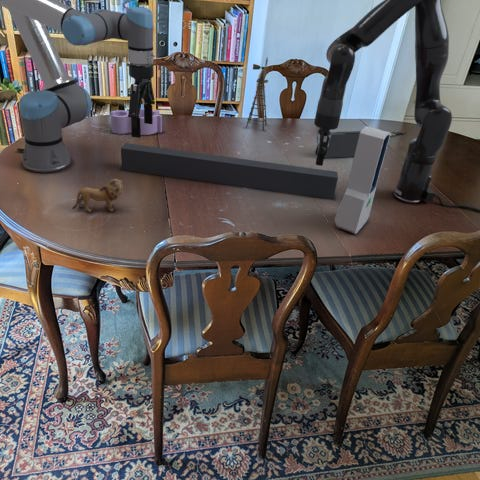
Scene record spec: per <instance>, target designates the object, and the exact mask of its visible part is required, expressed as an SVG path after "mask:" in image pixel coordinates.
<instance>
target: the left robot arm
mask: <svg viewBox="0 0 480 480" xmlns="http://www.w3.org/2000/svg"><path fill="white" fill-rule="evenodd" d="M0 7H3V8H4V9H7V10H8V12H9V15H10V16H11V19H12V21H13V23H14V25H15V27H16V29H17V32H18V33H19V35H20V37H21V39H22V41H23V43H24V46H25V48H26V50H27V52H28V54H29V56H30V58H31V60H32V62H33V64H34V66H35V68H36V71H37V73H38V75H39V77H40V79H41V81H42V83H43V86H42V88H41V89H40V90H37V91H36V90H33V91H30V92H27V93H25V94H23V95H22V96H21V97H20V99H19V102H18V105H19V110H18V111H19V115H20V120H21V126H22V132H23V136H24V148H21V147H18V148H16V151H18V152H21V153H22V158H21V159H22V160H21V161H22V166H23V168H24V169H25V170H27V171H29V172H33V173H39V174H46V173H56V172H61V171H63V170H66V169H67V168H69V167H70V166H71V163H72V159H71V155H70V153H69V151H68V150H67V149H68V148H67V147H66V145H65V143H64V140H63V132H62V129H65V128H67V127H70V126H73V125H74V124H76V123H80V122H82V121H83V120H85V119H86V118H87V117H89V115H90V114H91V111H92V107H93V102H92V97H91V95H90V93H89V92H88V90H87V89H86V88H84V87H83V86H81V85H78V83H77V81H76V79H75V78H74V77H73V76H70V75H69V74H68V72H67V69H66V67H65V65H64V63H63V61H62V58H61V56H60V54H59V52H58V50H57V47H56V44H55V42H54V41H53V38H52V37H51V34H50V32H49V30H48V28H51V30H55V31H57V32H59V33H61V34H62V35H63V37H64V39H65V40H66V41H67V42H68V43H69V44H70V45H72V46H77V47H79V46H88V45H90V44H95V43H99V42H103V41H108V40H112V39H113V40H119V41H124V42H125V41H126V42H127V56H128V57H127V58H128V59H127V60H128V63H129V64H128V75H129V77H130V78H133V79H134V82H133V83H131V84H130V97H129V105H128V110H129V114H128V117H131V130H132V133H131V137H132V138H137V139H141V138H142V135H141V130H140V117H139V114H140V109H141V108H142V103H143V101H144V104H143V108H144V123H146V124H153V112H152V110H153V105H155V104H156V101H155V93H154V87H153V82H152V79H153V78H154V68H155V67H154V65H153V64H154V58H155V57H156V54H155V53H154V27H155V26H154V17H153V16H154V15H153V11H152V10H151V9H150V8H147V7H143V6H142V7H140V6H129V7H128V8H127V9H126V12H120V11H114V10H108V9H107V8H105V9H104V8H103V9H102V8H101V9H100V8H96V9H93V10H92V12H91V13H84V12H82V11H80V10H77V9H76V8H73V7H71V6H70V5H68V4H66V3H63V2H61V1H59V0H0ZM133 113H135V114H133Z"/></svg>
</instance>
